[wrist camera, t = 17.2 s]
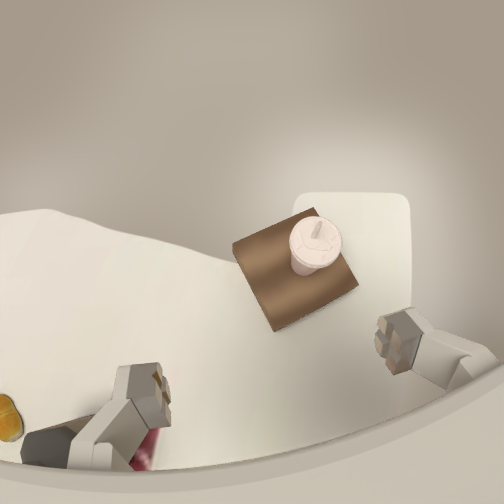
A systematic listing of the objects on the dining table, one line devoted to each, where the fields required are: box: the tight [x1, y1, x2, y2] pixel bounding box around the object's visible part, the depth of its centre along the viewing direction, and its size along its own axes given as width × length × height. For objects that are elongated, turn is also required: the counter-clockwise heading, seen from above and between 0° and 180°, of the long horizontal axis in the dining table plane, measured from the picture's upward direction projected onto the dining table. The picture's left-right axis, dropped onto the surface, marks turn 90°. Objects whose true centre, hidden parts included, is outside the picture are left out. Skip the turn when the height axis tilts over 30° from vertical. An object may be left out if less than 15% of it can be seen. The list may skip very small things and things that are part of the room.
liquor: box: [20, 414, 129, 469], centre depth 26 cm, size 9×9×30 cm
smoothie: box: [289, 216, 342, 276], centre depth 41 cm, size 6×6×14 cm
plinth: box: [233, 207, 359, 332], centre depth 49 cm, size 14×14×4 cm
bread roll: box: [0, 394, 23, 442], centre depth 38 cm, size 8×9×4 cm
